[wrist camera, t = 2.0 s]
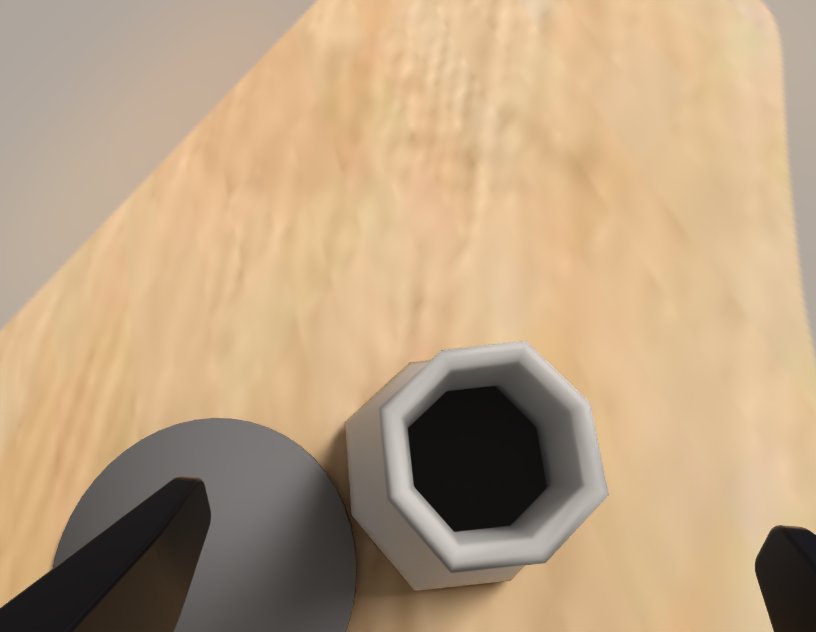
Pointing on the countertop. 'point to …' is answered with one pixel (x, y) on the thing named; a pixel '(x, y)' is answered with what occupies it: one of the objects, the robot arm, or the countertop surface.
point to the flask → (473, 465)
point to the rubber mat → (240, 526)
